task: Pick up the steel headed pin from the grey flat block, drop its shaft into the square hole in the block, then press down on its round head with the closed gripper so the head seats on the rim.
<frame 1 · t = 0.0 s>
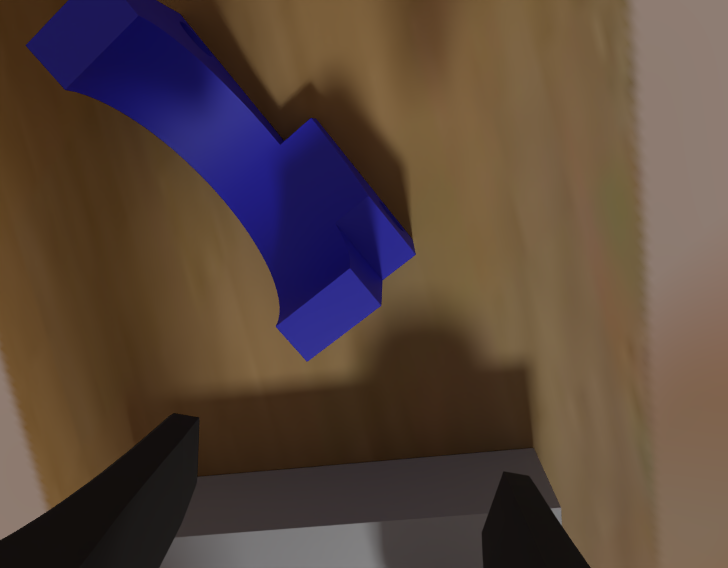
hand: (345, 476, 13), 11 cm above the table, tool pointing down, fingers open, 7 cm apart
grey flat block: (347, 556, 26), on the table
cable clip: (274, 156, 22), on the table
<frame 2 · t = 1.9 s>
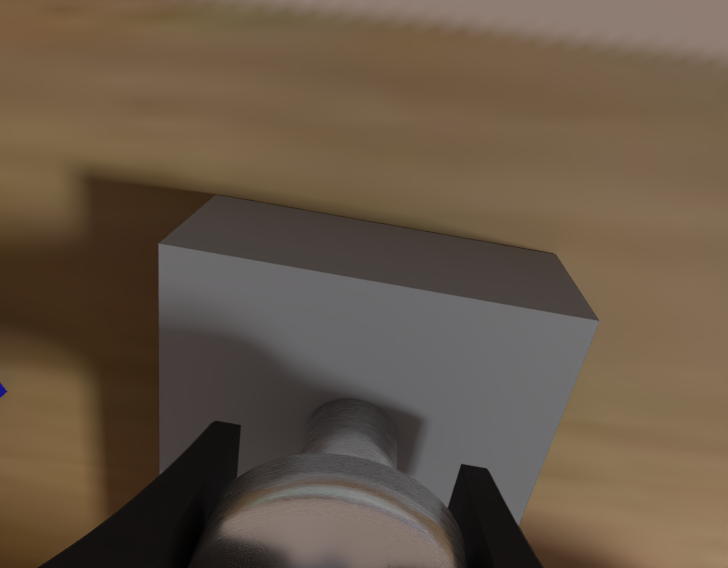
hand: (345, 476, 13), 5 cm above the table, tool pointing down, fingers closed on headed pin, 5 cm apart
grey flat block: (342, 458, 20), on the table
headed pin: (350, 436, 14), point 4 cm above the table, touching gripper, grey flat block
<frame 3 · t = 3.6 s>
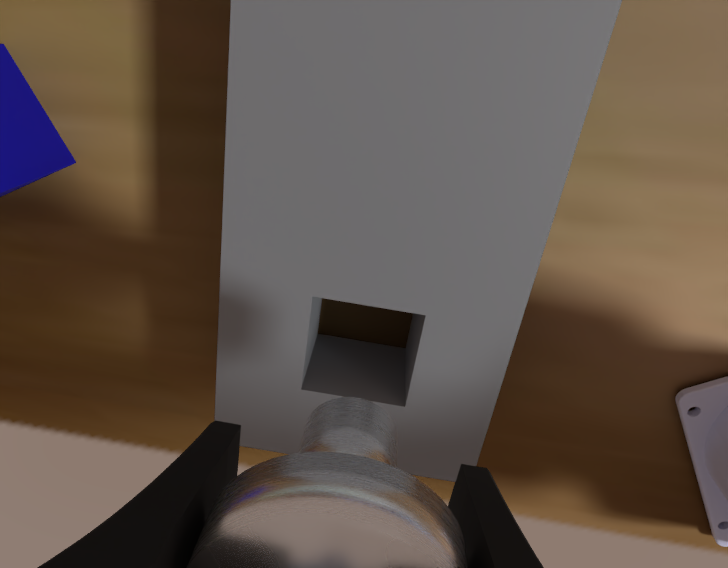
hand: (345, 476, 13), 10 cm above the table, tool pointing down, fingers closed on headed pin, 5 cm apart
grey flat block: (384, 209, 21), on the table
headed pin: (351, 434, 14), point 9 cm above the table, touching gripper
when the fingers open (5 cm above the table, at t = 5.3 s): headed pin drops 3 cm, resting on grey flat block.
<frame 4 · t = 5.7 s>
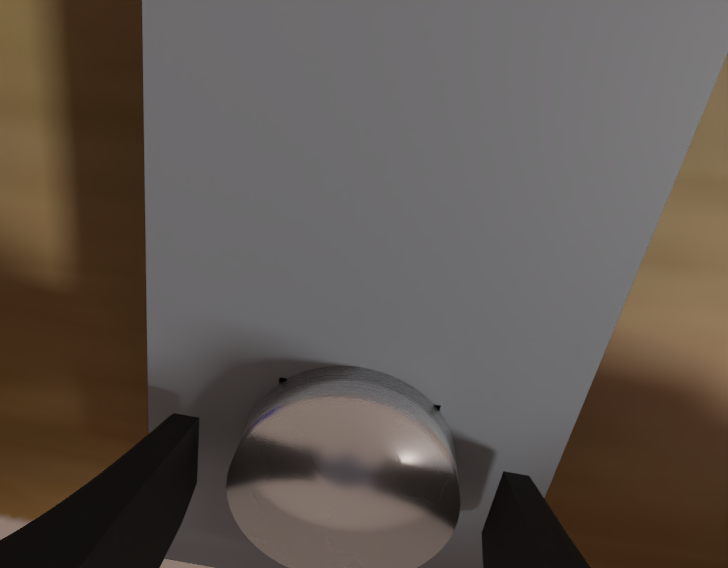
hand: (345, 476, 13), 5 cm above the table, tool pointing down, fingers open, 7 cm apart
grey flat block: (383, 245, 15), on the table
headed pin: (360, 374, 17), resting on grey flat block
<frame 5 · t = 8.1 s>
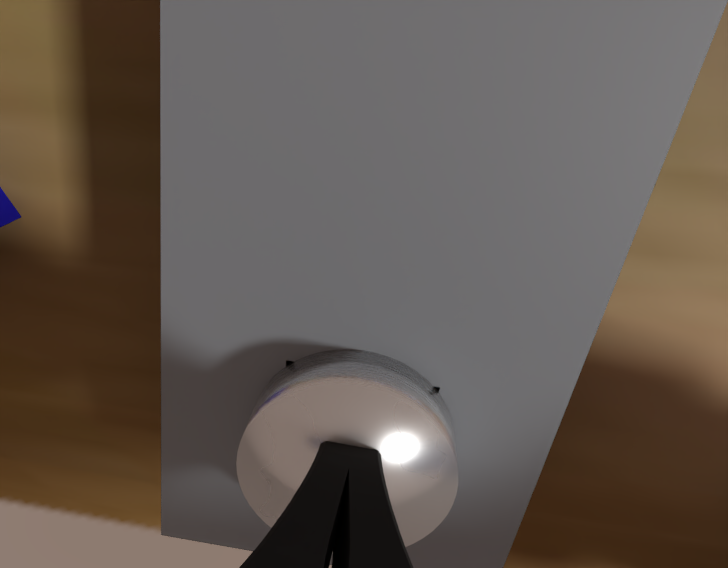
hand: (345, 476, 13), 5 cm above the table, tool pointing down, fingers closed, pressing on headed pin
grey flat block: (384, 237, 16), on the table
headed pin: (362, 361, 17), resting on grey flat block, touching gripper
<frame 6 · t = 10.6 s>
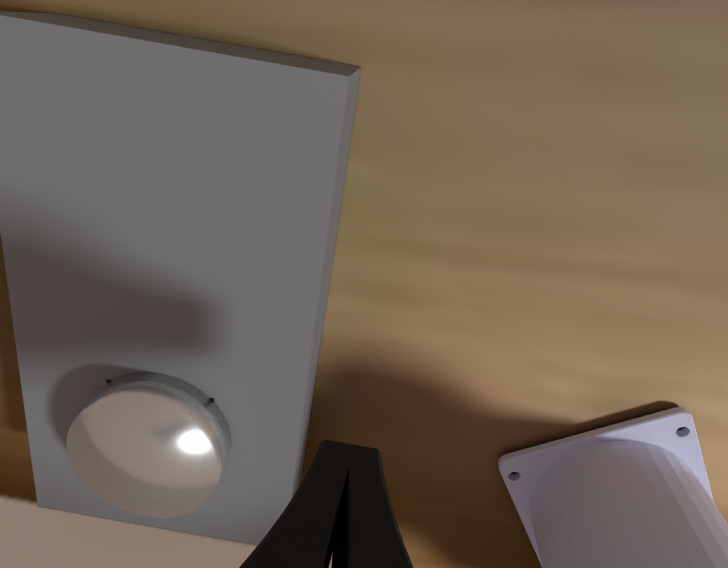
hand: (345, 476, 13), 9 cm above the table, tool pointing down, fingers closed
grey flat block: (201, 285, 22), on the table
headed pin: (195, 376, 23), resting on grey flat block
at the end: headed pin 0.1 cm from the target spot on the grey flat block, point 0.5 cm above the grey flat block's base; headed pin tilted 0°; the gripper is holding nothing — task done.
